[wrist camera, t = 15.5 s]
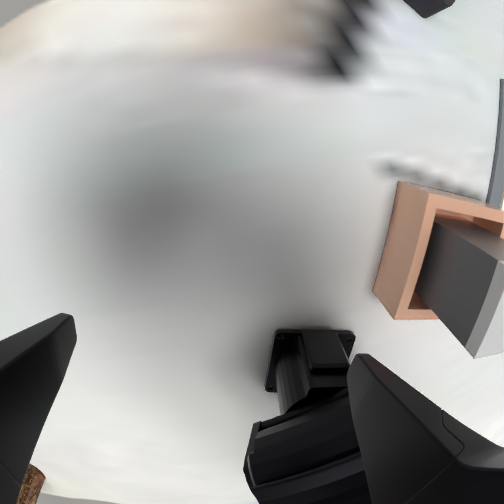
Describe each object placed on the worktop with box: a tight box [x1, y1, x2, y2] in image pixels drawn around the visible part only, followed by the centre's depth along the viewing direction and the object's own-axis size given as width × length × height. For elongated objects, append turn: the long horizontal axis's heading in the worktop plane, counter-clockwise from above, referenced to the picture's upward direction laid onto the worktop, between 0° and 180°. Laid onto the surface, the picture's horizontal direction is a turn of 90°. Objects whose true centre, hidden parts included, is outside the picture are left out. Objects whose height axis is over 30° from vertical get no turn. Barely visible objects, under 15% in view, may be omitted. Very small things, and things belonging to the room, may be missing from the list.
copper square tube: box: [373, 181, 504, 320], centre depth 20 cm, size 8×8×4 cm
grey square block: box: [414, 213, 504, 359], centre depth 16 cm, size 5×5×10 cm
